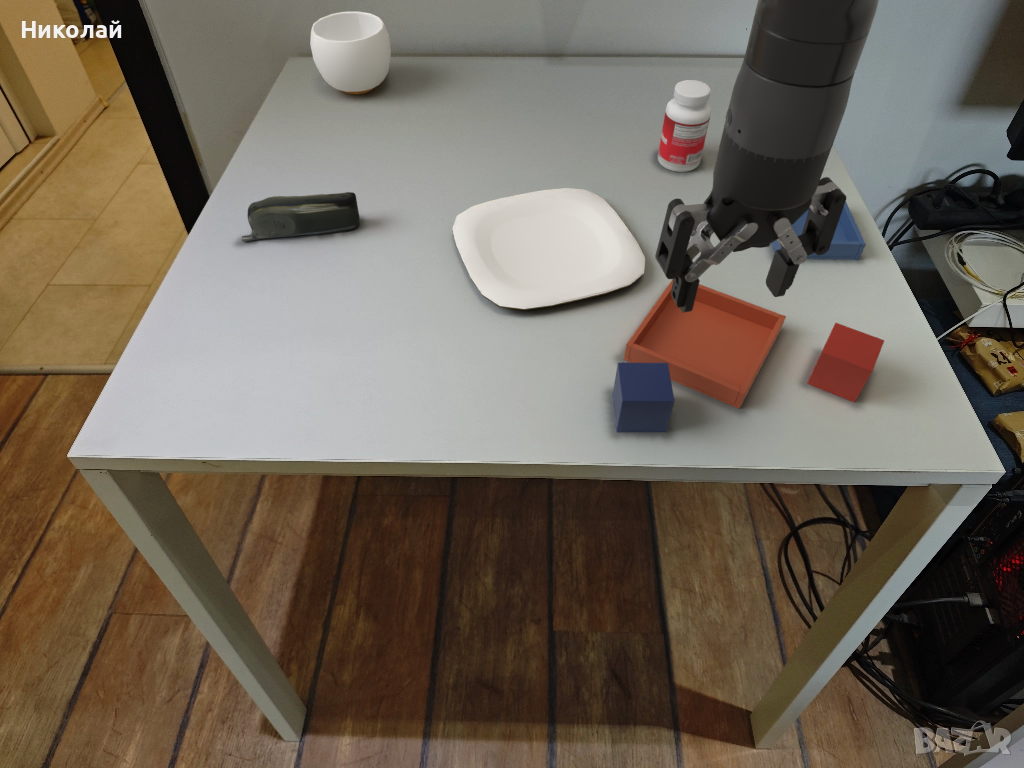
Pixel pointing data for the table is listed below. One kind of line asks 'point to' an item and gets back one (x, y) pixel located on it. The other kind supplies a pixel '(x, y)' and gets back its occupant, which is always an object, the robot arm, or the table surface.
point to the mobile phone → (302, 215)
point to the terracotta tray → (707, 342)
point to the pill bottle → (685, 126)
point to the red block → (846, 362)
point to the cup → (351, 50)
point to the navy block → (642, 397)
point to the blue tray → (836, 238)
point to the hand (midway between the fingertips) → (729, 298)
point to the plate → (547, 248)
